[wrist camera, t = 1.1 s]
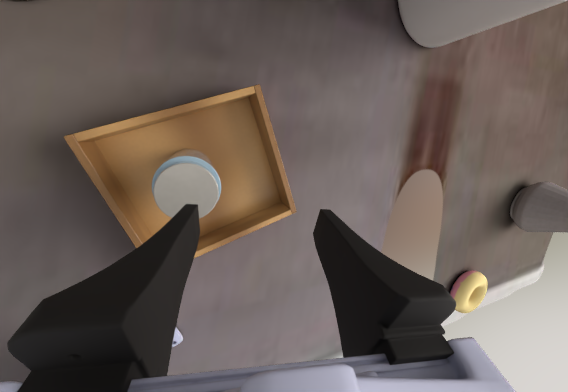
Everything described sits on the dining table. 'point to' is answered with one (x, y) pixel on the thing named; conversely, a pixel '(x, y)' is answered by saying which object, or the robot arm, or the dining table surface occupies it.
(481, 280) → the donut
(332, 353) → the dining table surface
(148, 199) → the wooden tray
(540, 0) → the cylinder vase
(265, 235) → the dining table surface
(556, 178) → the dining table surface
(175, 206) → the shaker
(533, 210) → the coffee pot
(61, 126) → the dining table surface
